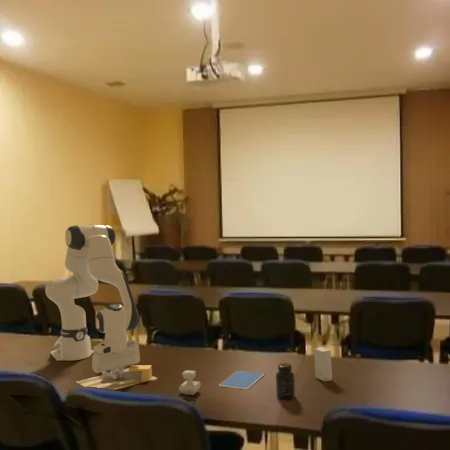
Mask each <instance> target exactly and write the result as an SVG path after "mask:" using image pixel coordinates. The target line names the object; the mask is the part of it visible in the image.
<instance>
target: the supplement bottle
mask: <svg viewBox="0 0 450 450" xmlns="http://www.w3.org/2000/svg"><path fill="white" fill-rule="evenodd" d="M277 366H278V367H277V368H278V369H277V372H276V373H275V386H276V388H275V389H276V398H278V399H280V400H283V401H288V400H289V401H290V400H293V399H294V398H295V397H296V385H295V384H296V383H295V382H296V379H295V373H294V372H293V371H292V370H293V369H292V364H291V363H288V362H287V363H286V362H283V363H281V362H280V363H279V364H278V365H277Z"/></svg>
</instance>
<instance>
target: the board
mask: <svg viewBox="0 0 450 450" xmlns="http://www.w3.org/2000/svg"><path fill="white" fill-rule="evenodd" d="M129 368H130V367H129ZM129 368H127V369H129ZM149 381H153V382H156V381H158V377H156V376H153V375H152V377H151V379H150V380H142V379H141V380H136V379H117V380H102V374H101V375H98V376H93V377H89V378H86V379H82V380H81V379H80V380H78V381H75V382H76V384H78V385H80V386H82V387H84V388H86V387H97V388H107V389H114V390H113V391H115V390H120V389H124V388H127V387H130V386H134V385H137V384H142V383H144V382H149Z"/></svg>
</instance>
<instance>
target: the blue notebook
mask: <svg viewBox="0 0 450 450" xmlns="http://www.w3.org/2000/svg"><path fill="white" fill-rule="evenodd" d="M265 375H266V374H265V373H263V372H259V371H251V370H250V371H248V370H236V371H235V372H234V373H232V374H231V375H230V376H228V377H227V378H226V379H225V380H223V381H222V382H221V383H219V384H218V387H223V388H229V389H230V388H231V389H236V390H244V391H247V390H249V389H250V388H252V387H253V386H254V385H255V384H256V383H257V382H258V381H259V380H260V379H262V378H263V377H264V376H265Z"/></svg>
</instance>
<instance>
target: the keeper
mask: <svg viewBox="0 0 450 450" xmlns="http://www.w3.org/2000/svg"><path fill="white" fill-rule="evenodd" d="M127 369H128V368H127ZM128 370H129V371H142V380H149V381H151V380H150V379H151V377H152V376H153V367H152V364H151V365H150V364H148V365H147V364H146V365H145V364H142V365H141V364H136V365H135V364H131V365H130V367H129V369H128Z"/></svg>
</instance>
